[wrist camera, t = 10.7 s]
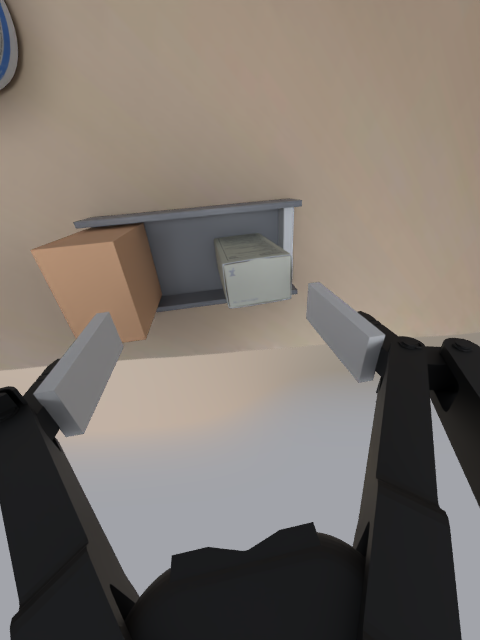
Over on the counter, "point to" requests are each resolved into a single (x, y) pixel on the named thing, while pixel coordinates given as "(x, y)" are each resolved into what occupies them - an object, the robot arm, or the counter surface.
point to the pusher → (103, 278)
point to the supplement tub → (7, 46)
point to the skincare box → (253, 270)
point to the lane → (202, 244)
